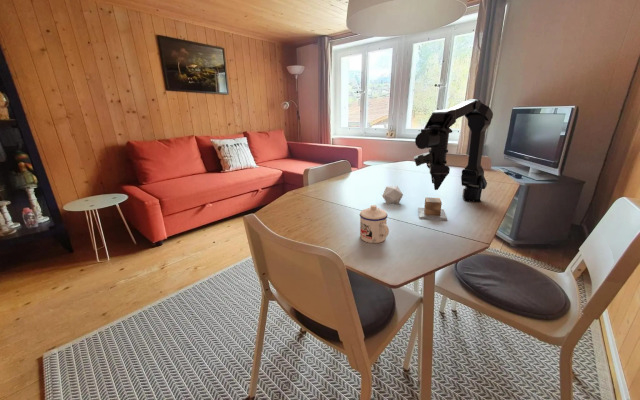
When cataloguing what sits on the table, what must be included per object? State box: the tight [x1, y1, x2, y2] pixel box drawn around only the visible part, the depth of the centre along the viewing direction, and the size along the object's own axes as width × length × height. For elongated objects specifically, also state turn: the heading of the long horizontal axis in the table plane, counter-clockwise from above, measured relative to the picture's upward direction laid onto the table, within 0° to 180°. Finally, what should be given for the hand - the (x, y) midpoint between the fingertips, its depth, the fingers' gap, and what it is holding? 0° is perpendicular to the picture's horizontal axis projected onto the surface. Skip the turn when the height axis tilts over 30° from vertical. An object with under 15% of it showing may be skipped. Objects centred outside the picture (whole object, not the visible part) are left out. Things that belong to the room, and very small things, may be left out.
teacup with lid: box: [359, 204, 390, 244], centre depth 86 cm, size 12×9×12 cm
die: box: [381, 185, 404, 205], centre depth 118 cm, size 8×9×10 cm
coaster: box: [417, 207, 448, 221], centre depth 105 cm, size 10×10×1 cm
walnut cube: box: [423, 196, 442, 216], centre depth 104 cm, size 6×6×6 cm
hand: (434, 186), depth 101 cm, fingers open, 9 cm apart
